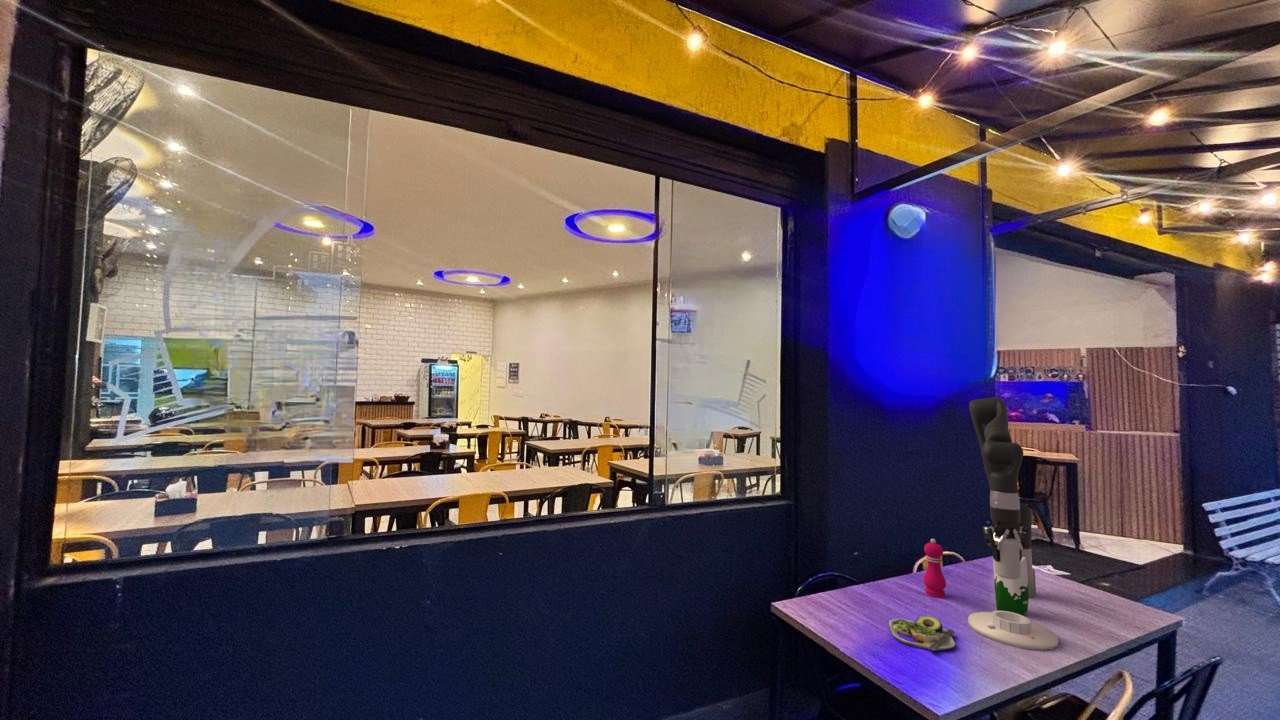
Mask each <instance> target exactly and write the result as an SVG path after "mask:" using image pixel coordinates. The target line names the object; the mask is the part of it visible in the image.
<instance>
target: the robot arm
mask: <svg viewBox="0 0 1280 720" xmlns="http://www.w3.org/2000/svg"><path fill="white" fill-rule="evenodd" d="M968 408H969V409H968V410H969V412H970V417H971V420H972V423H973V427H974V429H975V433H976V436H977V440H978V443H979V448H980V453H981V458H982V463H983V467H984V471H985V473H986V478H987V481H988V485H989V490H990V491H989V492H990V494H989V504H990V507H989V508H990V511H989V512H990V519H991V521H992V524H991V526H982V532H983V537H984V538H983V539H984V542H985V545H986V546H987V547H989V548H992V560H993V559H994V560H995V561H997V562H1000V542H1003V539H1011V538H1015V539H1017V541H1018V542H1019V553H1020V562H1021V560H1022V557H1025V558H1026V563H1027V573H1028V592H1029V599H1030V598H1033V597H1037V588H1036V587H1037V585H1036V584H1037V583H1036V582H1037V581H1036V569H1034V568H1033V557H1032V539H1033V538H1032V536H1033V535H1032V524H1033V523H1032V510H1031V508H1030V507H1029V505H1027V504H1025V503H1020V501H1021V500H1020V496H1019V485H1018V484H1019V483H1018V480H1019V479H1018V478H1019V473H1020V468H1021V466H1022V461H1023V458H1024V450H1023V448H1022V446H1021V445H1020V444H1019V443H1017V442H1013V440H1012V436H1011V433H1010V431H1009V415H1008V409H1007V406H1006V403H1005V401H1004V400H1003V398H1001V397H998V396H996V397H994V396H993V397H988V398H987V397H986V398H980V399H979V398H978V399H974V400H973V399H972V400H970V401H969V404H968ZM985 425H986V426H985ZM995 536H997V537H1000V539H997V538H996V537H995ZM995 540H996V541H998V543H997V545H995Z"/></svg>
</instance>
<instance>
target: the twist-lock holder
mask: <svg viewBox="0 0 1280 720" xmlns="http://www.w3.org/2000/svg"><path fill="white" fill-rule="evenodd" d="M967 620H968V621H967V622H968V626H969V627H970V628H971V629H972V631H974V632H976V633H978V635H981V636H982V637H985V638H987V639H989V640H991V641H994V642H998V643H1000V644H1002V645H1007V646H1011V647H1014V648H1015V647H1016V648H1019V649H1025V650H1030V651H1031V650H1033V651H1048V650H1047V649H1051V650H1053V649H1052V648H1055V647H1056V648H1058V647H1059V644H1058V643H1059V636H1058V635H1057V634H1056V633H1055V632H1054V631H1052V630H1051V629H1049V628H1048V627H1046V626H1044V625H1042V624H1039V623H1037V622H1036V621H1032V620H1030V618H1029V617H1027V616H1025V615H1024V616H1022V615H1020V614H1016V613H1013V612H1008V611H999V610H993V611H991V612H990V611H981V612H973V613H970V614H969V616H968V619H967ZM1057 646H1058V647H1057ZM1056 648H1055V649H1056Z"/></svg>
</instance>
